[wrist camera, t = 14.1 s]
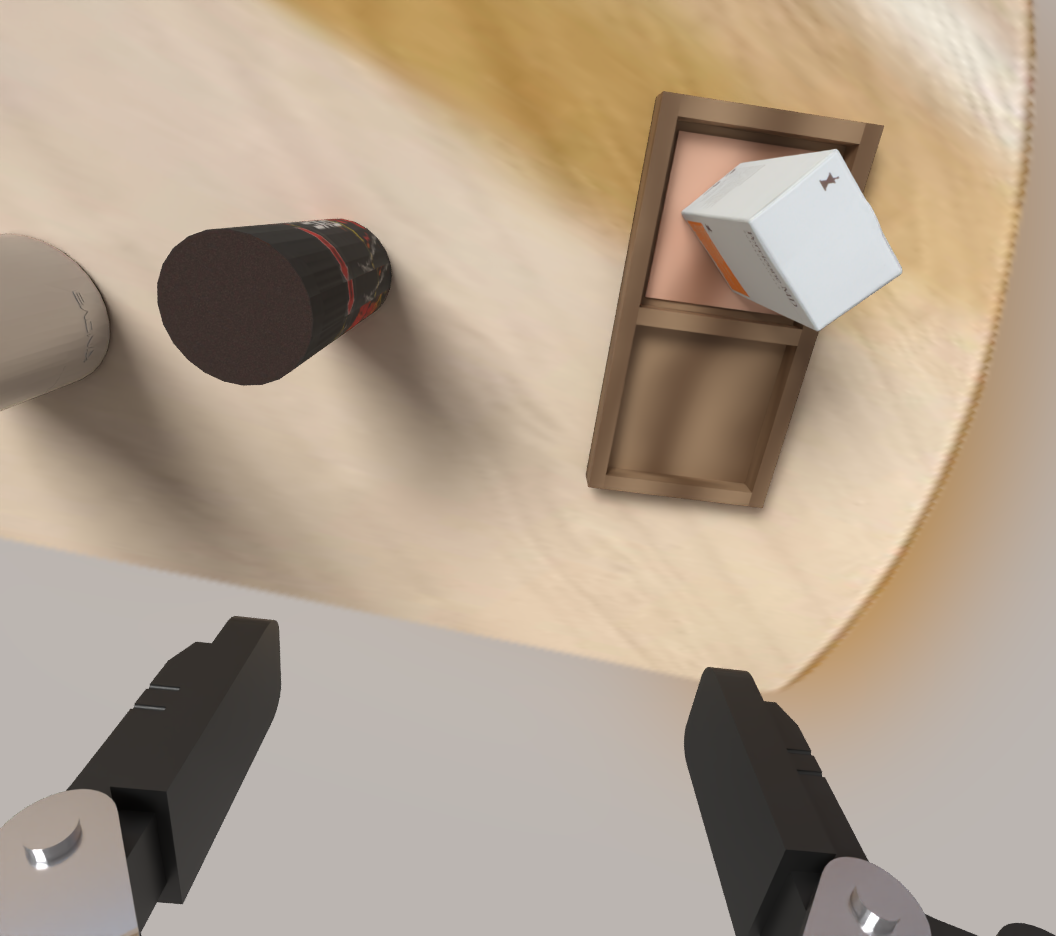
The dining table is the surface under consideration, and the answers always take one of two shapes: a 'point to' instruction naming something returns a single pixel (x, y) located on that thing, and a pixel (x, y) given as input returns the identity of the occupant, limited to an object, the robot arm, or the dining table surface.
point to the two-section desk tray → (704, 316)
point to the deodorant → (269, 294)
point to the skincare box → (795, 236)
